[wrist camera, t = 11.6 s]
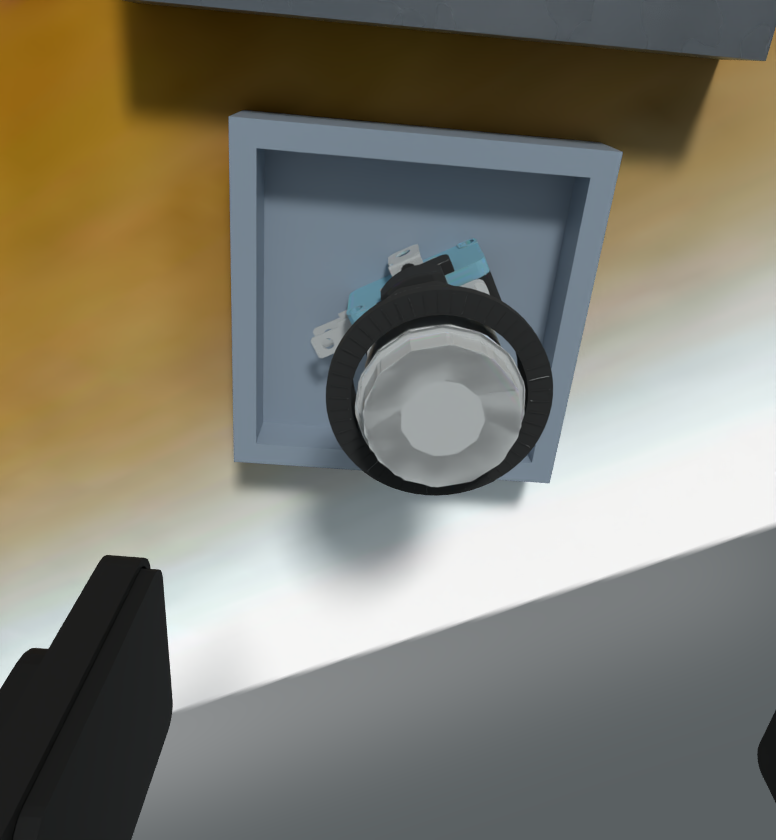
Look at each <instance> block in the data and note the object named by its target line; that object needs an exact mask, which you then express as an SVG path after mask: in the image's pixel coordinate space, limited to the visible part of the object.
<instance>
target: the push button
mask: <svg viewBox="0 0 776 840" xmlns="http://www.w3.org/2000/svg"><path fill="white" fill-rule="evenodd" d="M407 252H409V253H407ZM404 253H407V254H405V255H403V256H401V255H402V254H404ZM399 256H401V257H399ZM388 266H389V267H388V268H389V271H390V273H391V275H388V276H386V277H384V278H381V279H379V280H377V281H375V282H372V283H370V284H368V285H365V286H363V287H361V288H359V289H357V290H355V291H353V292H352V293H350V295H349V300H348V308H347V310H345V311H343V312H341V313H338V315H339V317H340V318H337V319H335V320H333V321H330V322H328V323H326V324H323V325H321V326H319V327H316V328H314V330H313V333H314V335H315V337H313V338H312V339H311V343H312V345H313V347H314V349H315V351H316V353H317V355H318V357H320V358H324V357H327V356H329V355H331V354H334V355H333V358H332V360H331V364H330V368H329V371H328V377H327V384H326V409H327V414H328V419H329V422H330V425H331V428H332V431H333V433H334V435H335V438H336V440H337V441H338V443H339V445H340V446H341V448H342V450H343V451H344V452H345V453H346V455H347V456H348V457H349V458H350V459H351V460H352V462H353V463H354V464H355V465H356V466H358V467H359V468H360V469H361V470H362V471H364V472H365V473H366V474H368V475H369V476H371V477H372V478H374V479H375V480H377V481H379V482H381V483H383V484H385V485H387V486H390V487H392V488H395V489H398V490H401V491H405V492H409V493H414V494H422V495H450V494H456V493H462V492H466V491H470V490H473V489H476V488H479V487H482V486H484V485H486V484H489V483H491V482H493V481H495V480H496V479H498V478H500V477H502V476H503V475H505V474H506V473H508V472H509V471H510V470H512V469H513V468H514V467H515V466H516V465H518V464H519V463H520V462H521V461H522V460H523V459H524V458H525V457H526V456H527V455H528V453H529V452H530V451H531V450H532V448H533V447H534V446H535V444H536V443H537V441H538V440H539V438H540V436H541V434H542V432H543V430H544V429H545V426H546V424H547V421H548V418H549V415H550V411H551V407H552V400H553V378H552V371H551V367H550V362H549V360H548V357H547V354H546V352H545V350H544V348H543V346H542V344H541V342H540V340H539V338H538V336H537V335H536V333H535V332H534V330H533V329H532V327H531V326H530V325H529V324H528V323H527V321H526V320H525V319H524V318H523V317H522V316H521V315H520V314H519V313H518V312H517V311H515V310H514V309H513V308H511V307H510V306H509V305H507V304H506V303H504V302H503V301H502V300H501V298H500V295H499V292H498V290H497V287H496V285H495V282H494V279H493V277H492V274H491V272H490V269H489V266H488V264H487V261H486V259H485V256H484V254H483V252H482V250H481V248H480V246H479V244H478V242H477V239H475V238H473V239H469V240H466V241H464V242H461V243H459V244H457V246H455V247H452V248H450V249H448V250H446V251H443V252H441V253H439V254H436V255H434V256H432V257H430V258H427V259H425V260H423V261H422V258H421V256H420V250H419V246H418V244H416V245H412V246H410V247H407V248H405V249H403V250H401V251H398V252H396V253H394V254H392V255H391V256H389V257H388ZM327 329H331V330H329V331H327V332H325V330H327ZM495 331H496V332H497V333H498V334H499V335H501V336H502V337H503V338H504V339H505V340H506V341H507V342H508V343H509V344H510V345H511V346H512V348H513V349H514V350H515V352H516V356H517V366H516V364H515V362H514V360H513V358H512V357H511V356H510V354H509V353H508V352H507V351H506V350H504V349H503V348H502V347H501V345H500V343H499V340H498V338H497V335H496V333H495ZM327 338H330V339H327ZM333 344H334V346H333V347H332V348H330V349H327V348H326V347H329V346H331V345H333ZM365 353H366V355H367V361H366V363H365V370H364V372H363V373H362V375H361V377H360V380H359V382H358V388H357V395H356V392H355V387H354V382H353V378H354V375H355V372H356V369H357V367H358V365H359V363H360V361H361V360H362V358H363V356H364V355H365Z"/></svg>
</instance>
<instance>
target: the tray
mask: <svg viewBox="0 0 776 840" xmlns="http://www.w3.org/2000/svg"><path fill="white" fill-rule="evenodd" d="M622 154H623V152H622V151H619V150H617V149H615V148H612V147H610V146H608V145H605V144H603V143H601V142H591V141H580V140H569V139H558V138H547V137H536V136H525V135H514V134H503V133H492V132H481V131H470V130H459V129H448V128H437V127H426V126H415V125H404V124H393V123H382V122H371V121H360V120H349V119H338V118H327V117H316V116H305V115H294V114H283V113H272V112H261V111H250V110H242V111H240V112H238V113H235V114H233V115H231V116H229V173H230V238H231V302H232V366H233V430H234V462H247V463H262V464H277V465H291V466H306V467H320V468H335V469H350V470H361V469H360V468H359V467H358V466H356V465H355V464H354V463H353V462H352V460H351V459H350V458H349V457H348V456H347V455H346V453H345V452H344V451H343V450H342V448H341V446H340V445H339V443H338V441H337V440H336V438H335V435H334V433H333V431H332V428H331V425H330V422H329V419H328V414H327V409H326V384H327V377H328V371H329V368H330V364H331V360H332V358H333V355H334V354H331V355H329V356H327V357H324V358H320V357H318V355H317V353H316V351H315V349H314V347H313V345H312V343H311V339H312V338H313V337H315V335H314V333H313V330H314V328H316V327H319V326H321V325H323V324H326V323H328V322H330V321H333V320H335V319H337V318H340V317H339V315H338V313H341V312H343V311H345V310H347V308H348V300H349V295H350V293H352V292H353V291H355V290H357V289H359V288H361V287H363V286H365V285H368V284H370V283H372V282H375V281H377V280H379V279H381V278H384V277H386V276H388V275H391V273H390V271H389V268H388V267H389V266H388V257H389V256H391V255H392V254H394V253H396V252H398V251H401V250H403V249H405V248H407V247H410V246H412V245H416V244H418V246H419V250H420V256H421V258H422V261H423V260H425V259H427V258H430V257H432V256H434V255H436V254H439V253H441V252H443V251H446V250H448V249H450V248H452V247H455V246H457V244H459V243H461V242H464V241H466V240H469V239H473V238H475V239H477V242H478V244H479V246H480V248H481V250H482V252H483V254H484V256H485V259H486V261H487V264H488V266H489V269H490V272H491V274H492V277H493V279H494V282H495V285H496V287H497V290H498V292H499V295H500V298H501V300H502V301H503V302H504V303H506V304H507V305H509V306H510V307H511V308H513V309H514V310H515V311H517V312H518V313H519V314H520V315H521V316H522V317H523V318H524V319H525V320H526V321H527V323H528V324H529V325H530V326H531V327H532V329H533V330H534V332H535V333H536V335H537V336H538V338H539V340H540V342H541V344H542V346H543V348H544V350H545V352H546V354H547V357H548V360H549V362H550V367H551V371H552V378H553V400H552V407H551V411H550V415H549V418H548V421H547V424H546V426H545V429H544V430H543V432H542V434H541V436H540V438H539V440H538V441H537V443H536V444H535V446H534V447H533V448H532V450H531V451H530V452H529V453H528V455H527V456H526V457H525V458H524V459H523V460H522V461H521V462H520V463H519V464H518V465H516V466H515V467H514V468H513V469H512V470H510V471H509V472H508V473H506V474H505V475H503V476H502V477H500V478H498V479H496V480H510V481H524V482H539V483H550V479H551V474H552V470H553V465H554V461H555V456H556V452H557V447H558V443H559V438H560V434H561V429H562V425H563V420H564V416H565V411H566V407H567V402H568V398H569V393H570V389H571V384H572V380H573V375H574V371H575V366H576V361H577V357H578V352H579V348H580V343H581V339H582V334H583V330H584V325H585V321H586V316H587V312H588V307H589V303H590V298H591V294H592V289H593V285H594V280H595V276H596V271H597V267H598V262H599V258H600V253H601V249H602V244H603V240H604V235H605V231H606V226H607V222H608V217H609V213H610V208H611V204H612V199H613V195H614V190H615V185H616V181H617V176H618V172H619V167H620V163H621V158H622ZM407 253H409V252H407ZM407 253H404V254H402V255H401V256H403V255H405V254H407ZM401 256H399V257H401ZM329 330H331V329H327V330H325V332H327V331H329ZM495 333H496V335H497V338H498V340H499V343H500V345H501V347H502V348H503V349H504V350H506V351H507V352H508V353H509V354H510V356H511V357H512V358H513V360H514V362H515V364H516V366H517V356H516V352H515V350H514V349H513V348H512V346H511V345H510V344H509V343H508V342H507V341H506V340H505V339H504V338H503V337H502V336H501V335H499V334H498V333H497V332H496V331H495ZM327 339H330V338H327ZM333 346H334V344H333V345H331V346H329V347H326V348H327V349H330V348H332V347H333ZM366 361H367V355H366V353H365V355H364V356H363V358H362V360H361V361H360V363H359V365H358V367H357V369H356V372H355V375H354V378H353V382H354V387H355V392H356V395H357V388H358V382H359V380H360V377H361V375H362V373H363V372H364V370H365V363H366Z"/></svg>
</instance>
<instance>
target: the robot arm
mask: <svg viewBox="0 0 776 840" xmlns="http://www.w3.org/2000/svg"><path fill="white" fill-rule="evenodd" d="M172 707H173V701H172V688H171V675H170V663H169V650H168V637H167V625H166V612H165V600H164V587H163V576H162V572H161V570H157V569H150V563H149V561H148V559H146V558H139V557H126V556H113V555H106V556H104V557H103V558H102V559H101V560H100V562H99V563H98V565H97V567H96V568H95V570H94V572H93V573H92V575H91V577H90V579H89V580H88V582H87V584H86V585H85V587H84V589H83V591H82V592H81V594H80V596H79V597H78V599H77V601H76V603H75V604H74V606H73V608H72V609H71V611H70V613H69V615H68V616H67V618H66V620H65V621H64V623H63V625H62V627H61V628H60V630H59V632H58V633H57V635H56V637H55V639H54V640H53V642H52V644H51V645H50V647H49V649H41V648H31V649H29V650H28V651H27V652H25V653H24V654H23V655H22V657H21V658H20V659H19V660H18V662H17V663H16V665H15V666H14V668H13V669H12V671H11V673H10V674H9V676H8V677H7V679H6V681H5V682H4V684H3V686H2V687H1V689H0V840H131V838H132V835H133V832H134V829H135V826H136V824H137V821H138V818H139V815H140V812H141V809H142V806H143V803H144V800H145V797H146V794H147V791H148V788H149V785H150V782H151V779H152V777H153V773H154V771H155V768H156V765H157V762H158V759H159V756H160V753H161V750H162V747H163V744H164V741H165V738H166V735H167V732H168V729H169V726H170V721H171V716H172ZM757 755H758V764H759V768H760V771H761V773H762V775H763V778H764V780H765V782H766V783H767V786H768V788H769V790H770V792H771V794H772V796H773V798H774V800H775V802H776V711H775V713H774V715H773V717H772V719H771V721H770V723H769V725H768V727H767V730H766V732H765V734H764V736H763V738H762V740H761V742H760V744H759V747H758V754H757Z"/></svg>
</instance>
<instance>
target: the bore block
mask: <svg viewBox="0 0 776 840" xmlns="http://www.w3.org/2000/svg"><path fill="white" fill-rule="evenodd" d="M123 1H128V2H134V3H142V4H152V5H163V6H173V7H183V8H194V9H204V10H214V11H225V12H235V13H245V14H256V15H266V16H276V17H287V18H297V19H307V20H317V21H328V22H338V23H348V24H359V25H369V26H379V27H390V28H400V29H410V30H421V31H431V32H441V33H452V34H462V35H472V36H483V37H493V38H503V39H513V40H524V41H534V42H544V43H555V44H565V45H575V46H586V47H596V48H606V49H617V50H627V51H637V52H648V53H658V54H668V55H679V56H689V57H699V58H709V59H720V60H753V61H766V58H767V55H768V51H769V48H770V44H771V41H772V37H773V34H774V31H775V27H776V0H123Z"/></svg>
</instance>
